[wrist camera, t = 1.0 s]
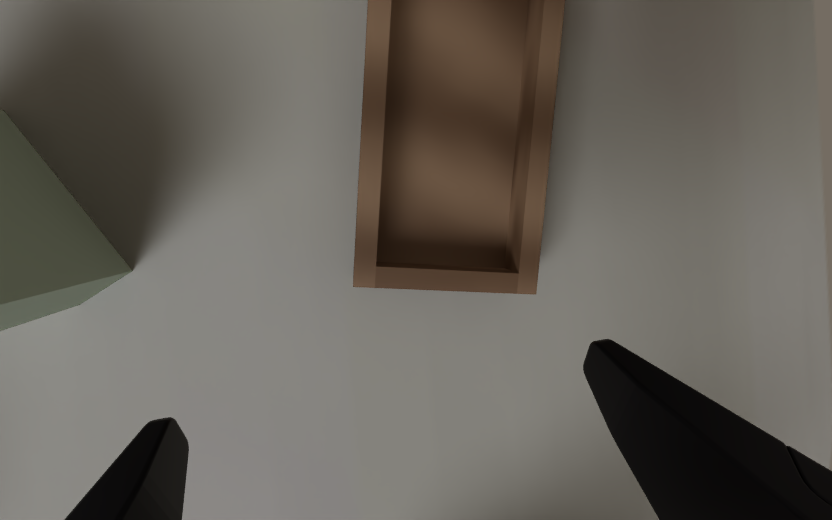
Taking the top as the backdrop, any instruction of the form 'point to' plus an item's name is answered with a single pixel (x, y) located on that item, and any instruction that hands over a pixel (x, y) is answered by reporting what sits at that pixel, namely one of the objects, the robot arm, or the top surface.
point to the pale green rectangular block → (45, 238)
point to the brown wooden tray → (456, 143)
